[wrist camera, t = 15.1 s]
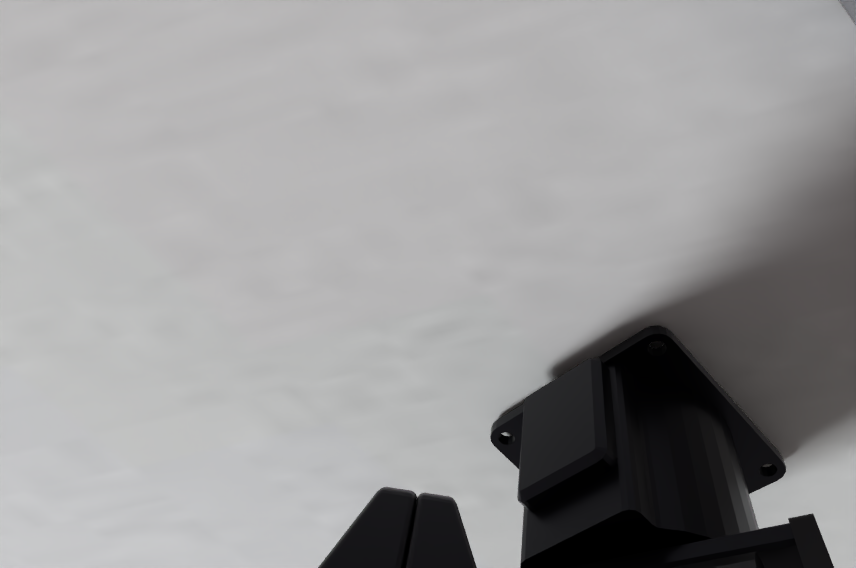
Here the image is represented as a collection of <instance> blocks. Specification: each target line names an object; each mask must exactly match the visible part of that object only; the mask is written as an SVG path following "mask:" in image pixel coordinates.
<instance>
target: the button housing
mask: <svg viewBox="0 0 856 568" xmlns="http://www.w3.org/2000/svg"><path fill="white" fill-rule="evenodd" d="M839 1H840V3H841V4H842V6H843V7H844V9H845V10H846V11H847V13H848V14H849V16H850V17H851V19H852V20H853V22H854V23H855V25H856V0H839Z"/></svg>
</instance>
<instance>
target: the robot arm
mask: <svg viewBox="0 0 856 568" xmlns="http://www.w3.org/2000/svg"><path fill="white" fill-rule="evenodd" d="M654 341H661V342H663V343H664V344H663V345H662V346H661V347H659V348H652V347H650V346H648V345H649V344H650V343H651V342H654ZM504 432H509V433H511V434H513V435H512V436H504V435H502V434H501V433H504ZM490 437H491V442H492V443H493V445H494V446H495V447H496V448H497V449H498V450H499V451H500V452H501V453H502V454H503V455H505V456H506V457H507V458H508V459H509V460H510V461H511V462H512V463H513V464H514V465H515V466H516V467H517V468H518V469H519V482H518V501H519V502H520V503H521V504H522V505H523V506H524V515H523V532H522V549H521V566H520V568H834V566H833V564H832V561H831V559H830V556H829V553H828V551H827V548H826V546H825V543H824V541H823V538H822V535H821V533H820V530H819V528H818V525H817V522H816V520H815V517H814V515H813V514H808V515H803V516H798V517H793V518H788V520H789V523H788V524H783V525H778V526H773V527H768V528H763V529H759V528H758V525H757V521H756V518H755V514H754V511H753V507H752V504H751V500H750V496H749V494H750V493H752V492H754V491H756V490H758V489H760V488H762V487H765V486H767V485H769V484H771V483H773V482H775V481H777V480H779V479H780V478H782V477H783V476H784V474H785V472H786V466H785V463H784V460H783V458H782V456H781V454H780V453H779V452H778V450H777V449H776V448H775V447H774V446H773V445H772V444H771V443H770V441H769V440H768V439H767V438H766V437H765V436H764V435H763V434H762V433H761V431H760V430H759V429H758V428H757V427H756V426H755V425H754V424H753V423H752V421H751V420H750V419H749V418H748V417H747V416H746V415H745V414H744V413H743V411H742V410H741V409H740V408H739V407H738V406H737V405H736V404H735V402H734V401H733V400H732V399H731V398H730V397H729V396H728V395H727V394H726V392H725V391H724V390H723V389H722V388H721V387H720V386H719V385H718V384H717V382H716V381H715V380H714V379H713V378H712V377H711V376H710V375H709V373H708V372H707V371H706V370H705V369H704V368H703V367H702V366H701V365H700V363H699V362H698V361H697V360H696V359H695V358H694V357H693V356H692V355H691V353H690V352H689V351H688V350H687V349H686V348H685V347H684V346H683V344H682V343H681V342H680V341H679V340H678V339H677V338H676V337H675V336H674V334H673V333H672V332H671V331H670V330H668V329H667V328H665V327H662V326H651V327H648V328H646V329H644V330H642V331H641V332H639V333H637V334H636V335H634V336H633V337H631V338H629V339H628V340H626V341H624V342H623V343H621V344H620V345H618V346H616V347H615V348H613V349H611V350H610V351H608V352H607V353H605V354H603V355H602V356H600V357H598V358H593V359H588V360H586V361H584V362H583V363H581V364H580V365H578V366H576V367H575V368H573V369H572V370H570V371H568V372H567V373H565V374H563V375H562V376H560V377H559V378H557V379H555V380H554V381H552V382H551V383H549V384H547V385H546V386H544V387H542V388H541V389H539V390H538V391H536V392H534V393H533V394H531V395H530V396H528V397H527V398H526V399H525V401H524V404H522V405H521V406H519V407H517V408H516V409H514V410H512V411H511V412H509V413H508V414H506V415H504V416H503V417H501V418H499V419H498V420H496V421H495V422H494V423H493V425H492V428H491V436H490ZM764 464H772V465H771V466H769V467H761V466H762V465H764ZM318 568H477V567H476V564H475V561H474V558H473V555H472V551H471V548H470V545H469V542H468V539H467V535H466V532H465V529H464V526H463V523H462V520H461V516H460V513H459V510H458V507H457V504H456V502H455V500H454V499H453V498H451V497H449V496H442V495H436V494H429V493H422V494H420V495H419V496H418V498H417V496H416V494H415V493H414V492H413V491H410V490H403V489H397V488H390V487H383V488H381V489H380V490H379V491H378V492H377V493H376V494H375V495H374V496H373V498H372V499H371V500H370V502H369V503H368V504H367V505H366V507H365V508H364V509H363V511H362V512H361V513H360V514H359V516H358V517H357V518H356V520H355V521H354V522H353V523H352V525H351V526H350V527H349V529H348V530H347V531H346V532H345V534H344V535H343V536H342V538H341V539H340V540H339V541H338V543H337V544H336V545H335V547H334V548H333V549H332V551H331V552H330V553H329V554H328V556H327V557H326V558H325V560H324V561H323V562H322V563H321V565H320V566H319V567H318Z"/></svg>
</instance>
